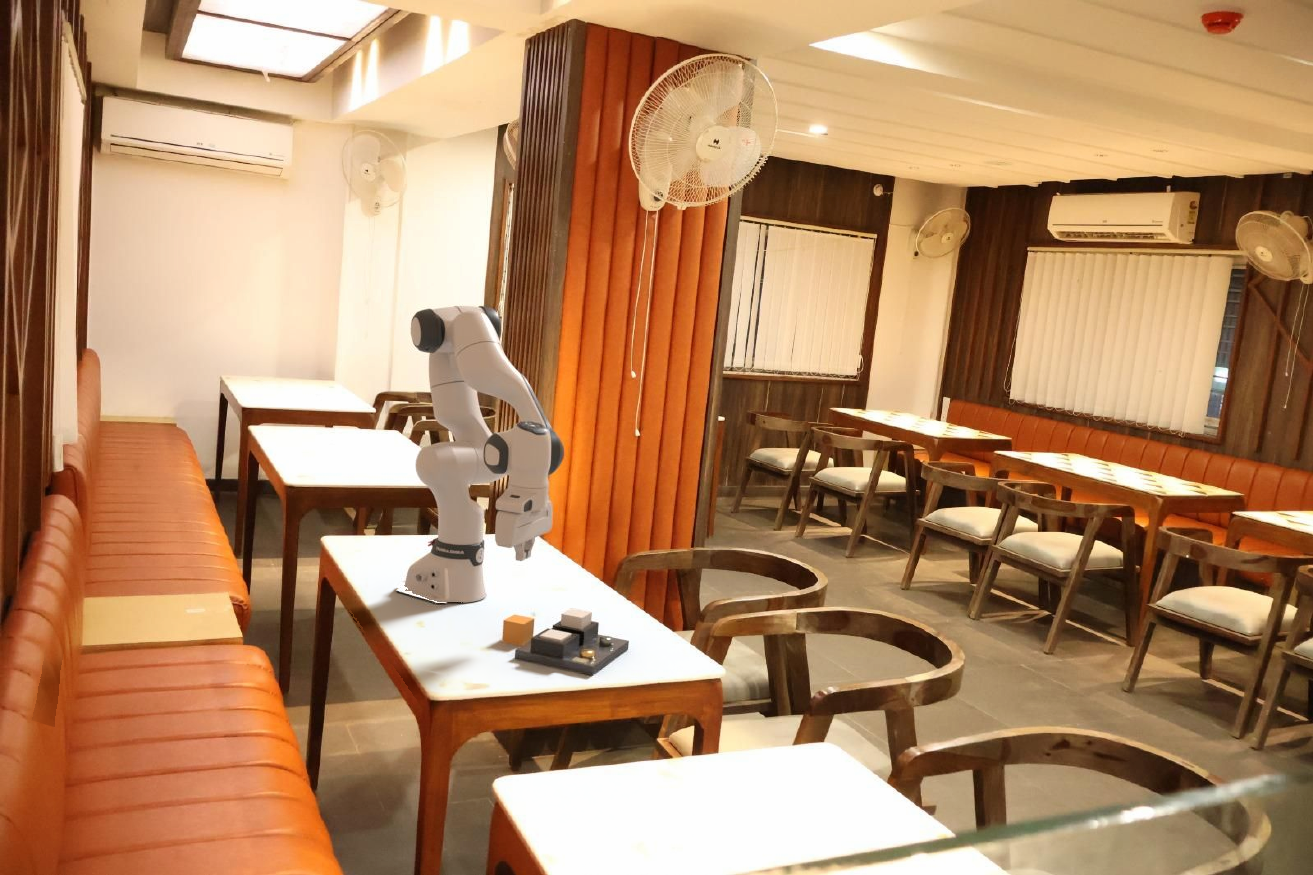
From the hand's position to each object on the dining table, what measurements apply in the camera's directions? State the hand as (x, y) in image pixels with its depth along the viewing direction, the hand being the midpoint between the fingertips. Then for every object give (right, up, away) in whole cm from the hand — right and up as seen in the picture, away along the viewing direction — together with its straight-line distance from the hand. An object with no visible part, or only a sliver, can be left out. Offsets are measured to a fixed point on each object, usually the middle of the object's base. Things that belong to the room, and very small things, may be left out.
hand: (523, 559), depth 233 cm
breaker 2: (+11, -15, +1) cm, 19 cm away
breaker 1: (+8, -18, -8) cm, 21 cm away
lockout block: (-2, -18, +2) cm, 19 cm away
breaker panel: (+11, -20, -3) cm, 23 cm away
